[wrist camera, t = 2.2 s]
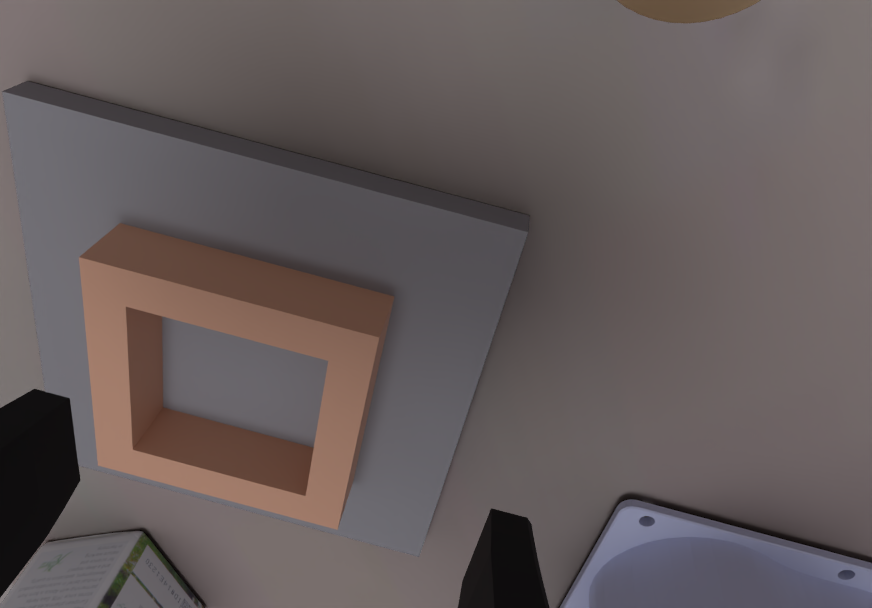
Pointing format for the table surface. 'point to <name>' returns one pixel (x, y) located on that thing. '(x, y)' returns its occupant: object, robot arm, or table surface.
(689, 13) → the wood peg
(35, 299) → the collar stand
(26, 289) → the table surface
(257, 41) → the table surface
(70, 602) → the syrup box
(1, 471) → the robot arm
